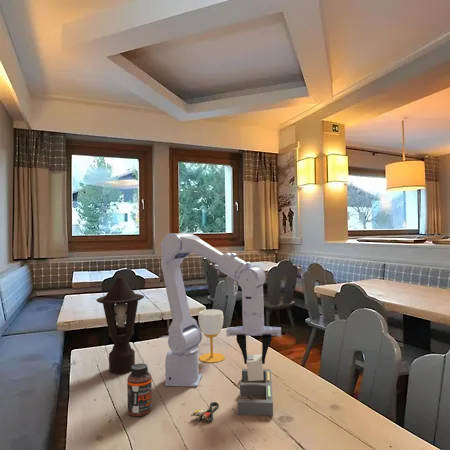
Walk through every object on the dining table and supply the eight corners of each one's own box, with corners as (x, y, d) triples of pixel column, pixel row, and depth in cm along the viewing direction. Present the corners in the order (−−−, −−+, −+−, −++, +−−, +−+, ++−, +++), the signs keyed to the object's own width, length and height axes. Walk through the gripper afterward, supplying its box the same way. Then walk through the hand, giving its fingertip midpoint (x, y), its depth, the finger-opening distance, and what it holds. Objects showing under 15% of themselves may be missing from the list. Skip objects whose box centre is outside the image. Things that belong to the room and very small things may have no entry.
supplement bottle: (139, 420, 86) (138, 372, 86) (122, 413, 89) (121, 367, 89) (157, 409, 91) (156, 364, 91) (140, 403, 94) (139, 360, 94)
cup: (229, 356, 127) (228, 310, 127) (215, 364, 119) (214, 316, 119) (208, 352, 131) (207, 308, 132) (193, 360, 124) (192, 313, 124)
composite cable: (212, 404, 93) (212, 394, 93) (228, 409, 91) (228, 399, 91) (189, 422, 85) (189, 412, 85) (206, 428, 82) (206, 417, 82)
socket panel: (237, 414, 87) (237, 400, 87) (242, 378, 107) (242, 367, 107) (273, 415, 86) (272, 401, 86) (270, 379, 107) (270, 367, 107)
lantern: (140, 358, 127) (138, 273, 127) (150, 372, 114) (148, 278, 114) (95, 365, 121) (93, 276, 121) (101, 382, 107) (98, 282, 107)
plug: (248, 380, 94) (246, 360, 94) (248, 373, 99) (247, 353, 99) (263, 380, 94) (261, 359, 94) (263, 372, 99) (261, 353, 99)
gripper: (224, 315, 93) (226, 368, 93) (281, 315, 92) (282, 368, 92) (227, 309, 100) (228, 358, 100) (279, 309, 99) (281, 358, 99)
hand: (254, 362), depth 96 cm, fingers closed on plug, 4 cm apart
